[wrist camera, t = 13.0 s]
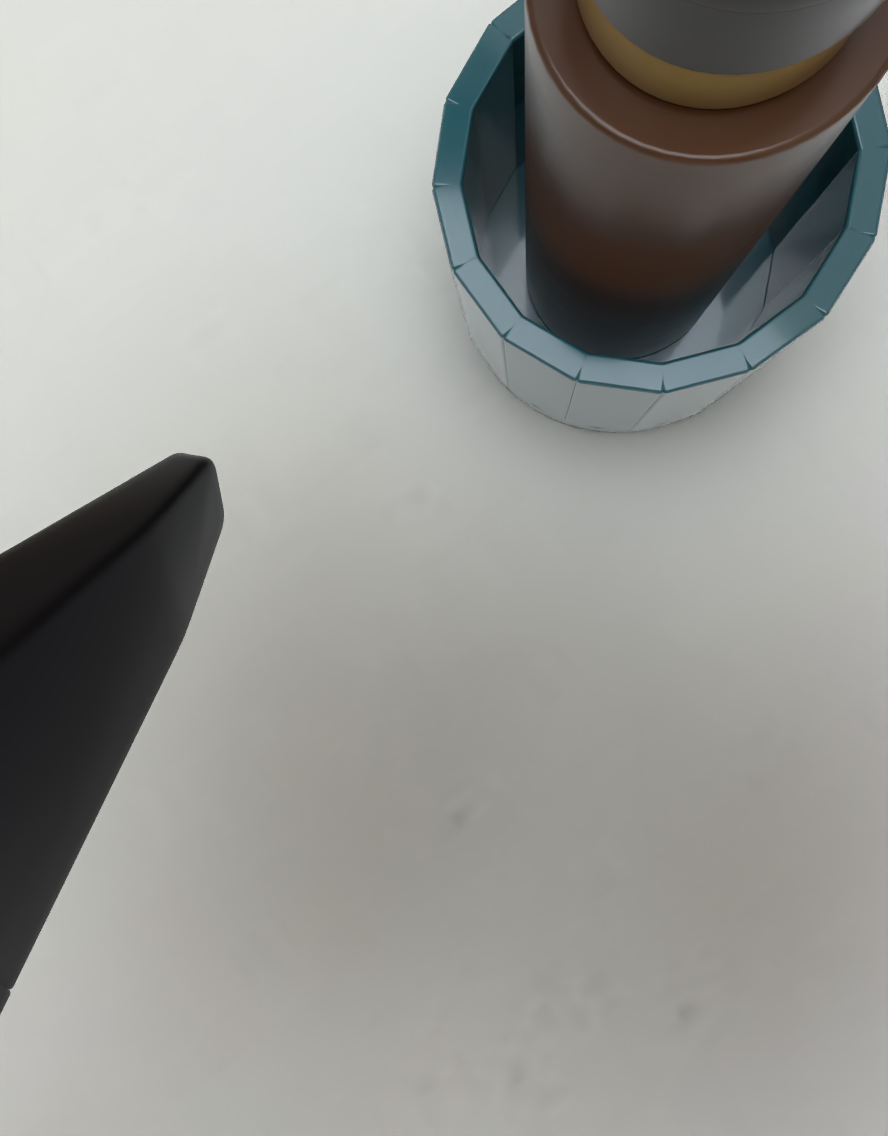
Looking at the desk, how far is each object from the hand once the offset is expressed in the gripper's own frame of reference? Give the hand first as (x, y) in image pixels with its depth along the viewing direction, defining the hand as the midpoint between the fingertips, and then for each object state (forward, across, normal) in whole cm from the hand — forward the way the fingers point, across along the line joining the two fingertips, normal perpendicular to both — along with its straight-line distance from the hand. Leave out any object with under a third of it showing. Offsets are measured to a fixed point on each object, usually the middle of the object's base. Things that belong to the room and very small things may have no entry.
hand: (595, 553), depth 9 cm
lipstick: (+10, 0, +2) cm, 10 cm away
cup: (+11, 0, +2) cm, 11 cm away
